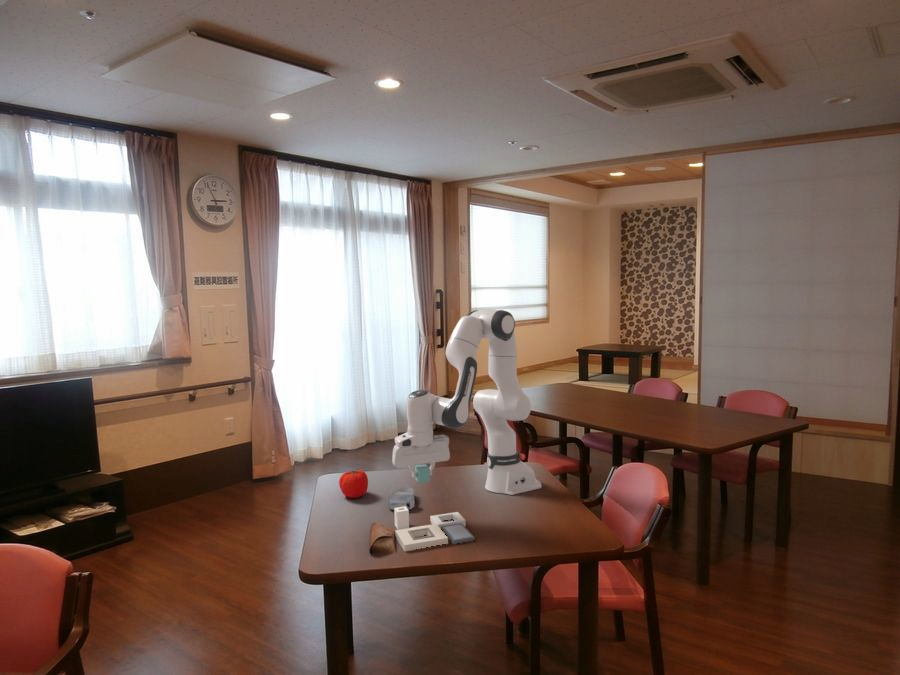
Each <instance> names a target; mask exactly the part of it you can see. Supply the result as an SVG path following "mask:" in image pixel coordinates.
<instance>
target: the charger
mask: <svg viewBox="0 0 900 675" xmlns="http://www.w3.org/2000/svg"><path fill="white" fill-rule="evenodd" d="M409 510H410V509H407V507H406V506H404V507H398V508H394V510H393V512H394V526H395V527H396V530H400V529H406V528H410V515H409V514H410V513H409V512H410V511H409Z"/></svg>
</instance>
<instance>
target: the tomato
mask: <svg viewBox="0 0 900 675" xmlns="http://www.w3.org/2000/svg"><path fill="white" fill-rule="evenodd" d="M359 469H360V467H358V468H357V469H356V470H355V469H354V470H350V471H346V472H343V473H342V474H341V475H340V477H339V481H338V484H339V485H338V486H339V488H340V491H341V493H342V494H343V495H344V496H345V497H347V498H349V499H350V498H351V499H356V498H360V497H363V496H365V495H366V493H367V491H368V488H369V479H368V475H367V474H366V472H365V471H364V470H361V469H360V470H359Z"/></svg>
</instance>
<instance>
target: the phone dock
mask: <svg viewBox="0 0 900 675" xmlns="http://www.w3.org/2000/svg"><path fill="white" fill-rule="evenodd" d="M429 517H430V521H431V522H430V523H431V524H437V525H438V526H439V528H440V529H442V530H443V532H444V534H446V535H447V537H448V540H449V541H450V540H451V541H452V542H451V541H450V542H451V543H452V544H453V545H458V544H457V543H460V544H463V543H462V542H466V543H469V542H468V541H471V542H474V541H473V540H475V539H476V538H475V536H474V535H473V534H472V533H471V532H470V530H469V529H468V528H466V527H467V524H466V523H467V522H466V519H465V518H464V517H463V516H462V515H461V514H460V513H459V512H458V511H454V512H448V513H441V514H434V515H430V516H429ZM451 519H453V520H454V521H453V520H451ZM444 520H448V521H444Z"/></svg>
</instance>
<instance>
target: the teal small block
mask: <svg viewBox="0 0 900 675" xmlns="http://www.w3.org/2000/svg"><path fill="white" fill-rule="evenodd" d="M429 468H430V466H428V465H427V464H421V465H414V471H416V472H417V477H415V481H416V482H417V483H418V484H423V483H428V482H429V483H430V475H429Z"/></svg>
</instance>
